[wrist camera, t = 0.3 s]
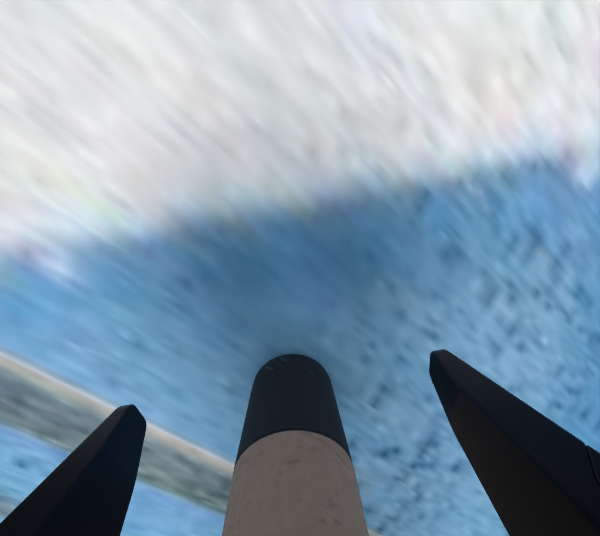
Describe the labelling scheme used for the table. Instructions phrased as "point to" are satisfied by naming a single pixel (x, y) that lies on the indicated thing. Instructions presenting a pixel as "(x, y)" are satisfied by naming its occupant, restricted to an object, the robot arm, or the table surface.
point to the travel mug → (293, 459)
